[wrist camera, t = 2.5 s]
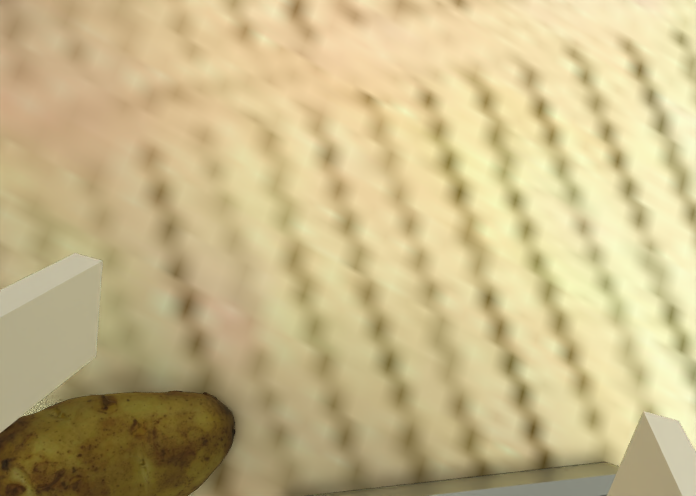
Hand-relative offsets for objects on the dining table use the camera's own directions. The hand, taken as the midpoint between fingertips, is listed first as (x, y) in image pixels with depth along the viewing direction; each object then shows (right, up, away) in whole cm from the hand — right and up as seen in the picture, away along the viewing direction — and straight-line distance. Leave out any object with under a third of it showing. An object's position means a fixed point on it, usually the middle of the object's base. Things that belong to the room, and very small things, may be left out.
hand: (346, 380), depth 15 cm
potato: (-13, -9, +23) cm, 28 cm away
